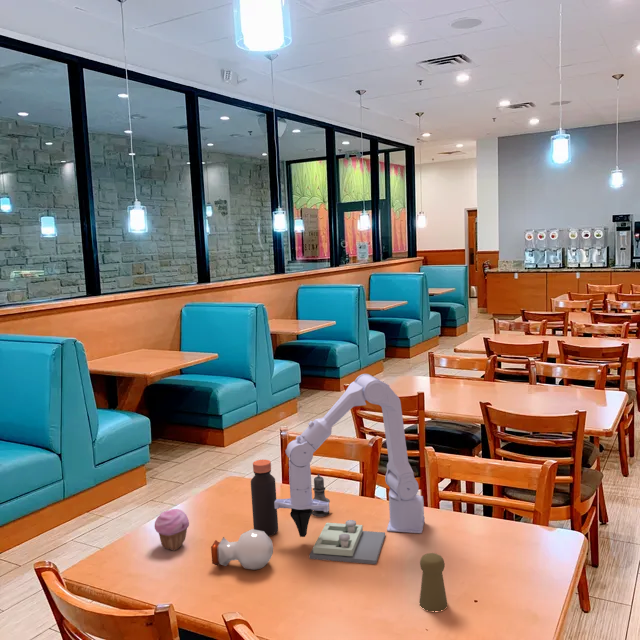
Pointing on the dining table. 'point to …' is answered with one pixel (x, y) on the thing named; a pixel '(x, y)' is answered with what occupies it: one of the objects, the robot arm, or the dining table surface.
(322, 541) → the panel
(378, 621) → the dining table surface
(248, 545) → the potion bottle
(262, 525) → the vinegar
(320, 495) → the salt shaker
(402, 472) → the robot arm
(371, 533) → the boss board
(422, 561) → the olive pawn
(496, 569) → the dining table surface
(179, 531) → the cupcake
